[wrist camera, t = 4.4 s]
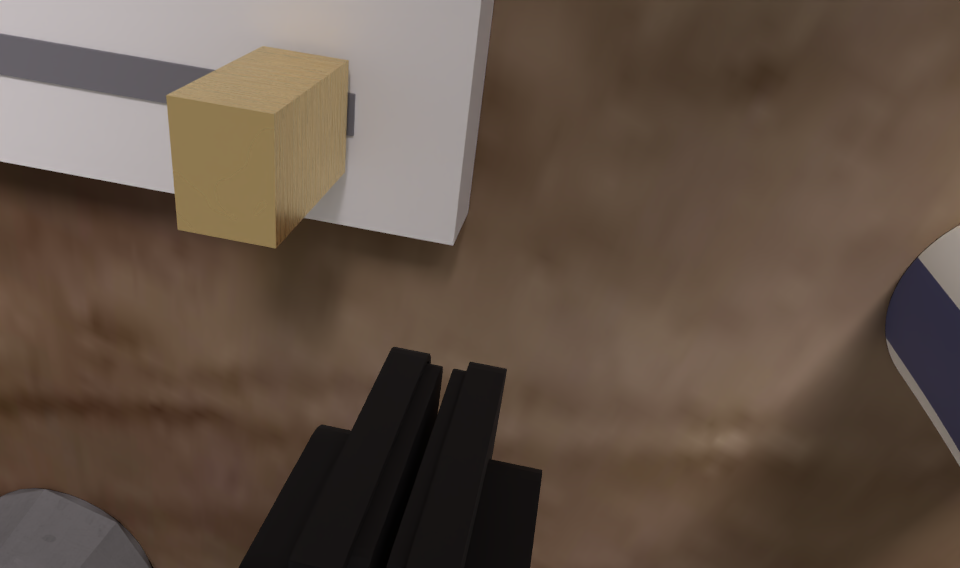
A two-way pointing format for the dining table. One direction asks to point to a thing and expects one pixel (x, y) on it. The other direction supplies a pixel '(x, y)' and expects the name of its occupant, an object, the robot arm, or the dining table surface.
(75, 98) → the console
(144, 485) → the dining table surface
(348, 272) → the dining table surface
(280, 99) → the brass slider
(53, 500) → the coffeepot
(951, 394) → the white striped vase
